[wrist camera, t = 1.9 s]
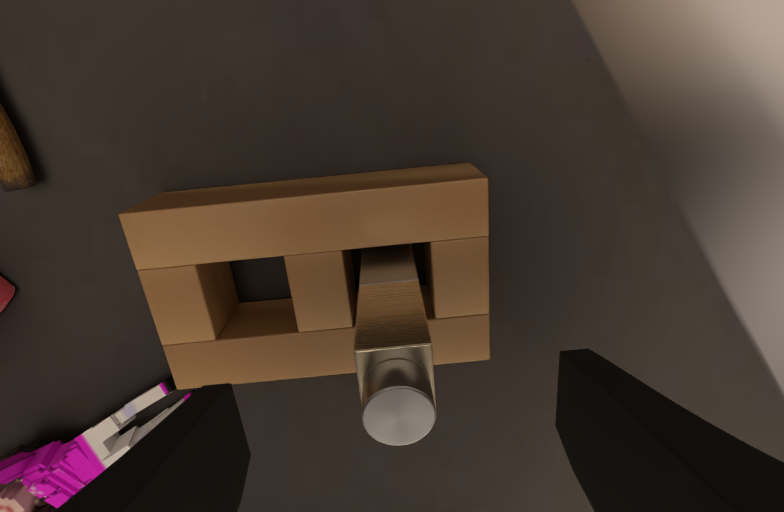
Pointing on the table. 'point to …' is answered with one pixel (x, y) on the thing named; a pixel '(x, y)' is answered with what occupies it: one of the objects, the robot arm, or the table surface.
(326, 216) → the holder
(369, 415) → the tall bottle
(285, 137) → the table surface
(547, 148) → the table surface
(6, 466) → the character figurine
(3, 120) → the can opener
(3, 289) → the ink box
